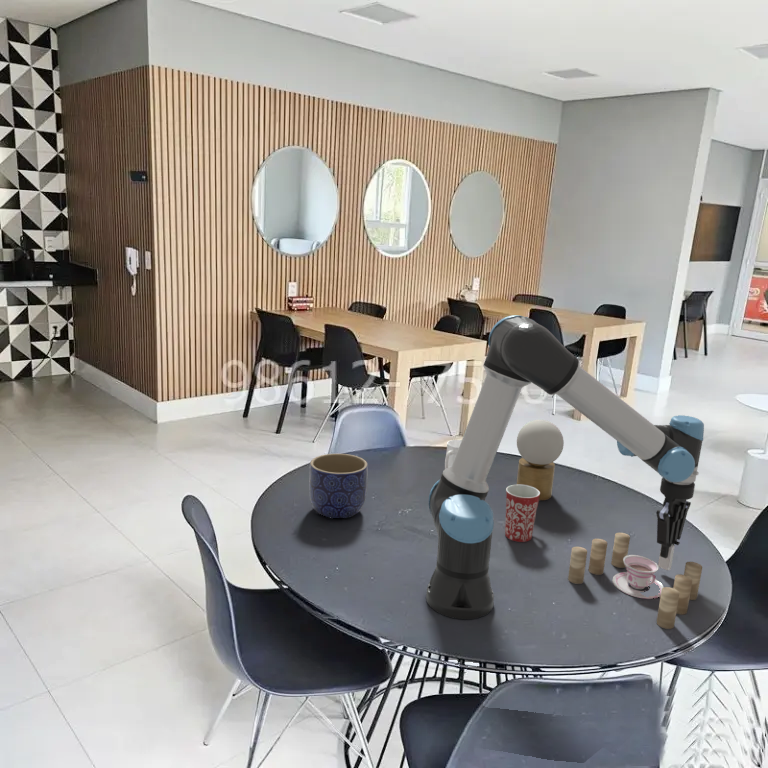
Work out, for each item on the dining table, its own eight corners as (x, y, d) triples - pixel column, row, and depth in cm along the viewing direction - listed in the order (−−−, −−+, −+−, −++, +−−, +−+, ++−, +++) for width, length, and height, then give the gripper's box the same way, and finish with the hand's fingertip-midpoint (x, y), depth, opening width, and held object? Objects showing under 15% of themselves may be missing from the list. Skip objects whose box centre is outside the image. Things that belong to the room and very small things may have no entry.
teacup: (601, 578, 170) (604, 555, 169) (639, 570, 175) (643, 548, 173) (636, 603, 159) (639, 579, 158) (675, 595, 164) (679, 571, 163)
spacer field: (668, 631, 149) (674, 597, 147) (565, 579, 168) (568, 549, 166) (710, 601, 162) (715, 570, 160) (609, 556, 181) (613, 528, 179)
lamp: (558, 508, 210) (568, 429, 204) (511, 503, 212) (519, 425, 206) (554, 489, 224) (563, 415, 218) (510, 484, 226) (518, 411, 220)
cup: (474, 471, 236) (476, 443, 234) (454, 481, 227) (457, 452, 224) (453, 465, 241) (455, 438, 239) (434, 474, 232) (436, 445, 229)
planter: (374, 520, 195) (376, 470, 192) (317, 527, 189) (319, 476, 186) (354, 497, 210) (356, 451, 207) (301, 503, 204) (302, 455, 201)
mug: (522, 547, 184) (527, 500, 180) (495, 535, 190) (499, 489, 187) (548, 533, 192) (553, 488, 189) (521, 522, 199) (526, 478, 195)
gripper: (680, 490, 160) (665, 582, 166) (706, 478, 169) (691, 566, 174) (650, 480, 166) (636, 569, 171) (676, 469, 174) (663, 554, 180)
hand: (664, 567), depth 173 cm, fingers closed
